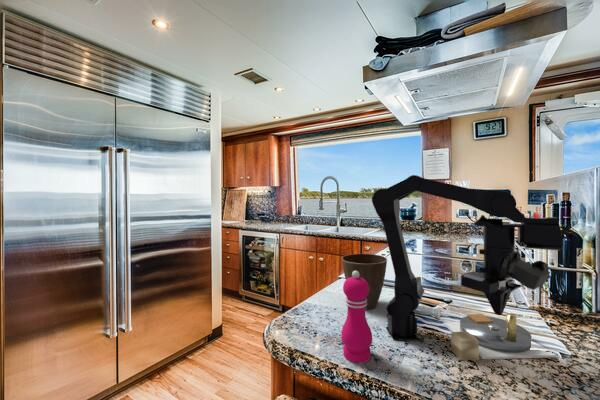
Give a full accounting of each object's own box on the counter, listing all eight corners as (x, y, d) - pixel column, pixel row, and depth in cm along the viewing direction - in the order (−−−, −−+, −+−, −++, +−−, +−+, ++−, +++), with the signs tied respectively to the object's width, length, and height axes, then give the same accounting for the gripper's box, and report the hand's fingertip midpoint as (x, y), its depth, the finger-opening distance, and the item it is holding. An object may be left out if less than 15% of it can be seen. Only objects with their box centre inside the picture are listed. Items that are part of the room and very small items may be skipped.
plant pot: (342, 313, 89) (341, 263, 89) (342, 296, 104) (341, 253, 103) (391, 315, 87) (390, 264, 86) (384, 297, 101) (383, 253, 101)
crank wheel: (484, 353, 64) (484, 318, 64) (448, 322, 80) (448, 294, 79) (548, 351, 65) (548, 317, 64) (500, 321, 80) (500, 293, 80)
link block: (461, 360, 63) (461, 340, 63) (451, 350, 67) (451, 331, 67) (478, 359, 63) (478, 340, 63) (467, 350, 67) (467, 331, 67)
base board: (483, 359, 63) (483, 357, 63) (443, 324, 80) (443, 322, 80) (556, 357, 64) (556, 355, 64) (501, 322, 81) (501, 321, 81)
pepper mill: (338, 347, 69) (337, 267, 69) (366, 345, 70) (365, 266, 69) (345, 365, 62) (344, 276, 62) (377, 363, 63) (376, 274, 62)
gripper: (516, 258, 52) (515, 341, 52) (564, 248, 60) (564, 320, 61) (459, 247, 62) (459, 317, 62) (507, 240, 70) (507, 302, 71)
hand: (498, 314), depth 64 cm, fingers closed
